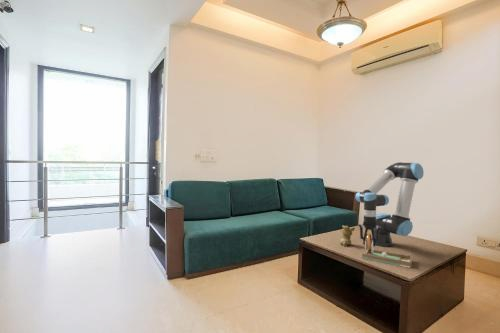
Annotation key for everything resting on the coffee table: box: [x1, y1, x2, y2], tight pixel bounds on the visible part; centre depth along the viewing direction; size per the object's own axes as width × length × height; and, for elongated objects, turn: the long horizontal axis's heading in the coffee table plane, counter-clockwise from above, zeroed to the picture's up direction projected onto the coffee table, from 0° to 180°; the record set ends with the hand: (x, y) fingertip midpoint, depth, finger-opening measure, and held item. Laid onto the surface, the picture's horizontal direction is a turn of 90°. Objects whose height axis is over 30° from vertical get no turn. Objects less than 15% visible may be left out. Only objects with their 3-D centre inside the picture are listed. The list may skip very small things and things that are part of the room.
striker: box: [364, 233, 374, 255], centre depth 180 cm, size 6×5×13 cm
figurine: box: [339, 224, 356, 247], centre depth 203 cm, size 10×9×15 cm
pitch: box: [361, 248, 413, 269], centre depth 174 cm, size 13×28×4 cm, turn 57°
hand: (369, 250), depth 180 cm, fingers closed on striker, 4 cm apart
